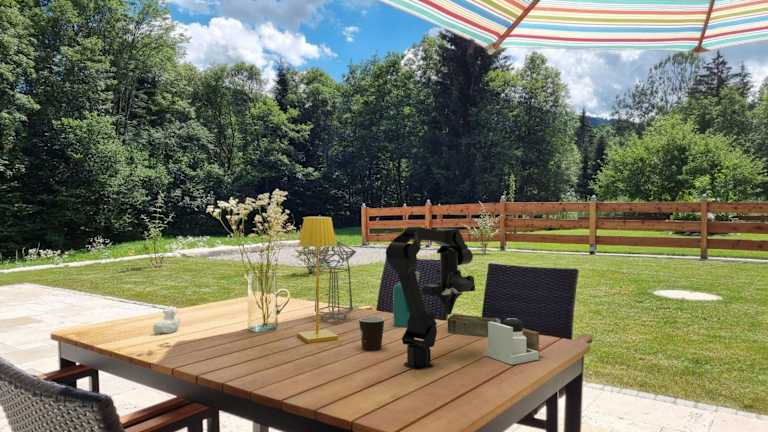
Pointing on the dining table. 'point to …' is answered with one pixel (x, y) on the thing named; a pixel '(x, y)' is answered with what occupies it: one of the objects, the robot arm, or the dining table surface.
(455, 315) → the beverage carton
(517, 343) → the medicine bottle
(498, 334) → the white angle bracket
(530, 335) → the wall
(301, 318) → the dining table surface
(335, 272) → the geometric lantern
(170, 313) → the bust
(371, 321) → the coffee mug
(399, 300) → the teal tall bottle shape
